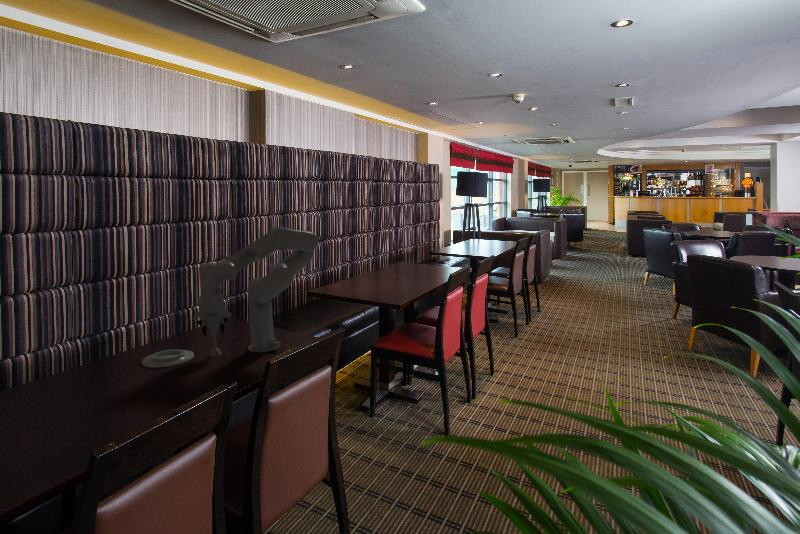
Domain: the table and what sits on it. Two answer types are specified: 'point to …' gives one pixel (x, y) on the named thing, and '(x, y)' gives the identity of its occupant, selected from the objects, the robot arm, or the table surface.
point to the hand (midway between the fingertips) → (213, 333)
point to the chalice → (213, 332)
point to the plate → (158, 365)
